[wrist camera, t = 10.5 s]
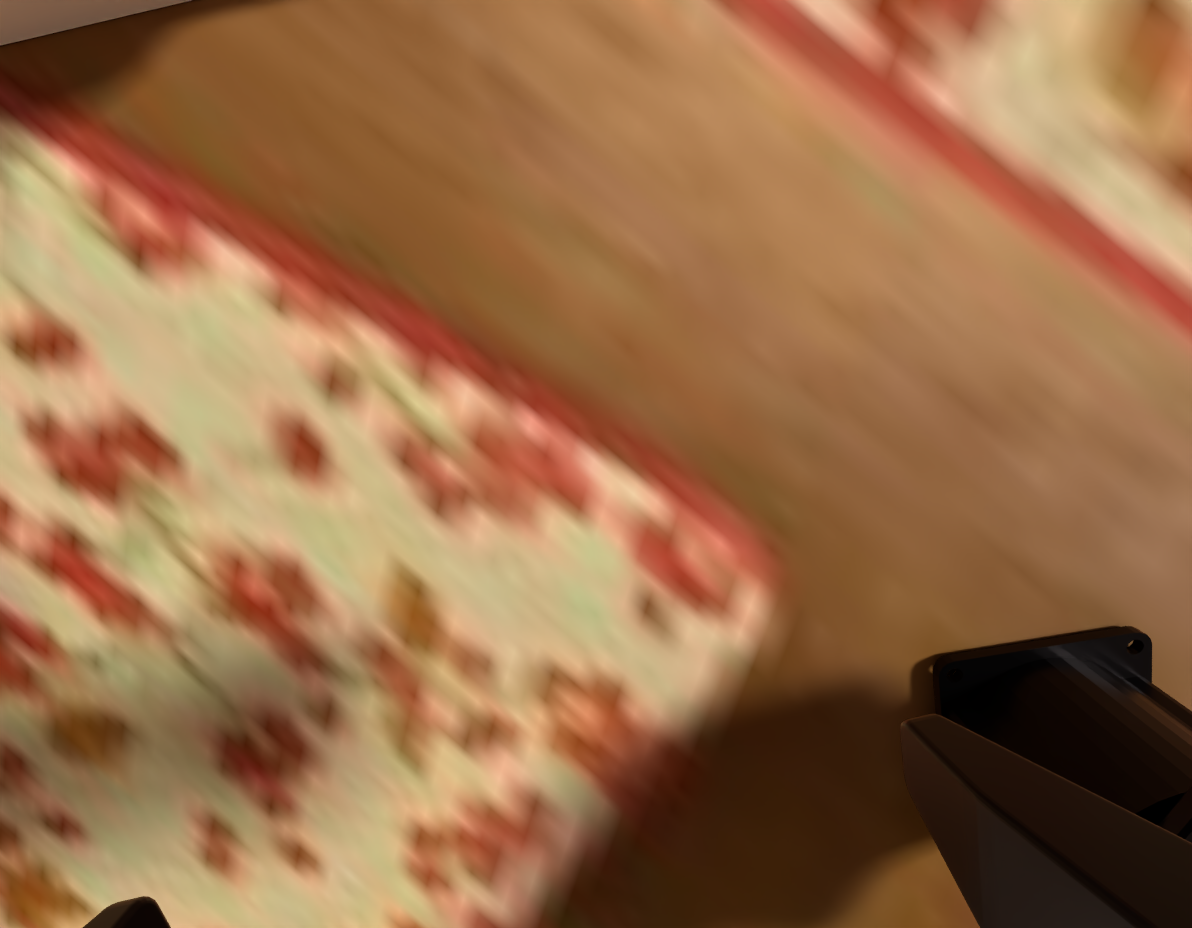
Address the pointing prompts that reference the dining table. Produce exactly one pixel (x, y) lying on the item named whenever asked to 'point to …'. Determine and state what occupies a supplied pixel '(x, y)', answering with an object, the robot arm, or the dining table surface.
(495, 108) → the dining table surface
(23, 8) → the ridge
